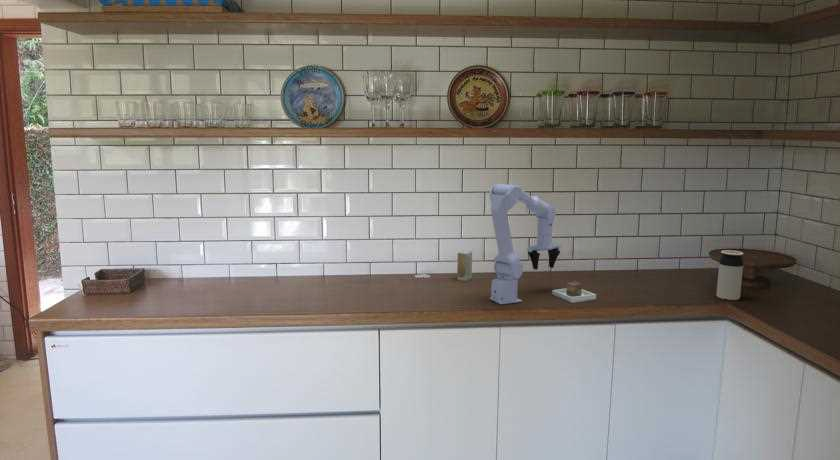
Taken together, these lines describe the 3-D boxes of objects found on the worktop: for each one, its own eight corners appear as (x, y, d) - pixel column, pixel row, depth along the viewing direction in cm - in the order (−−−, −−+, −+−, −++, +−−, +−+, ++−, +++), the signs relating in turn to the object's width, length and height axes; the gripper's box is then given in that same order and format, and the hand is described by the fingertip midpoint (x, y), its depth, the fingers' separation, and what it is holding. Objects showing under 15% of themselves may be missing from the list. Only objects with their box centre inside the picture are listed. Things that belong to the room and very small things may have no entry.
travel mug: (739, 301, 208) (744, 254, 205) (715, 298, 212) (719, 252, 209) (740, 296, 215) (744, 251, 212) (716, 293, 219) (721, 249, 216)
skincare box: (463, 277, 244) (463, 249, 242) (472, 278, 242) (472, 251, 240) (456, 280, 239) (457, 252, 237) (465, 281, 236) (466, 253, 234)
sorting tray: (571, 303, 205) (571, 297, 205) (552, 295, 216) (552, 290, 216) (596, 299, 210) (596, 294, 210) (576, 292, 220) (576, 287, 220)
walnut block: (572, 298, 210) (573, 285, 209) (566, 295, 214) (566, 282, 213) (581, 296, 212) (582, 284, 211) (574, 294, 215) (575, 281, 215)
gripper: (535, 237, 211) (533, 272, 214) (566, 235, 217) (564, 268, 219) (524, 234, 218) (523, 268, 220) (555, 232, 223) (553, 265, 226)
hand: (543, 268), depth 220 cm, fingers open, 7 cm apart
